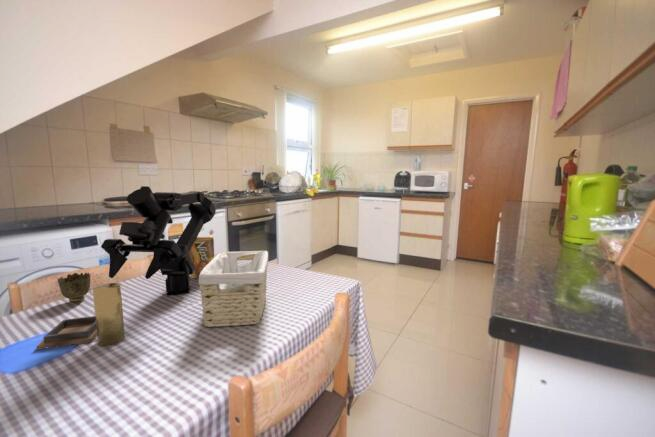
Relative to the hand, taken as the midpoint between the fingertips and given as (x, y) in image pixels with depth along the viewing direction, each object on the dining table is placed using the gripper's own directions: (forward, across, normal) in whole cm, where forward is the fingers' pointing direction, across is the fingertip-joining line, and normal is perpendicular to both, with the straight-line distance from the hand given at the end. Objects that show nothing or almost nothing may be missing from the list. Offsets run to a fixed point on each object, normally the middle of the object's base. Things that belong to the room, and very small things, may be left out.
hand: (128, 277), depth 71 cm
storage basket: (+1, +24, +17) cm, 30 cm away
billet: (+14, 0, +4) cm, 14 cm away
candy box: (-18, +1, +36) cm, 40 cm away
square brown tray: (+12, -10, +6) cm, 17 cm away
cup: (0, -26, +18) cm, 32 cm away
